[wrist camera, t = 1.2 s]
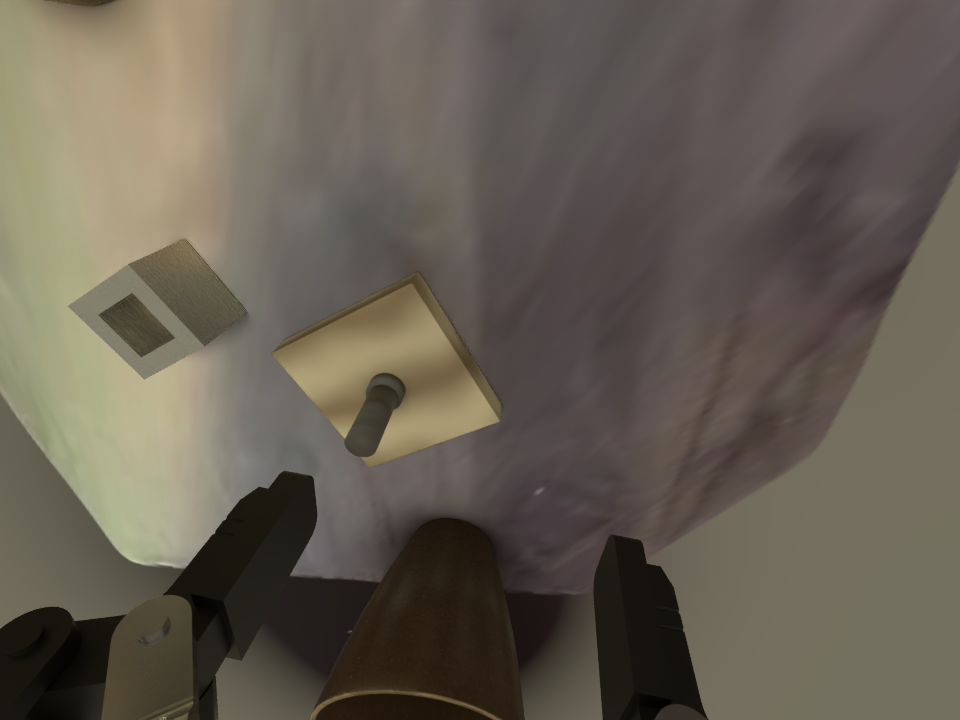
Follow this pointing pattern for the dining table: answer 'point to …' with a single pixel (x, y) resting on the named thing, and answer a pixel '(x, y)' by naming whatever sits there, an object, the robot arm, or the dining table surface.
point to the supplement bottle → (79, 2)
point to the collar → (159, 308)
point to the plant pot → (431, 638)
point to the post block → (391, 374)
